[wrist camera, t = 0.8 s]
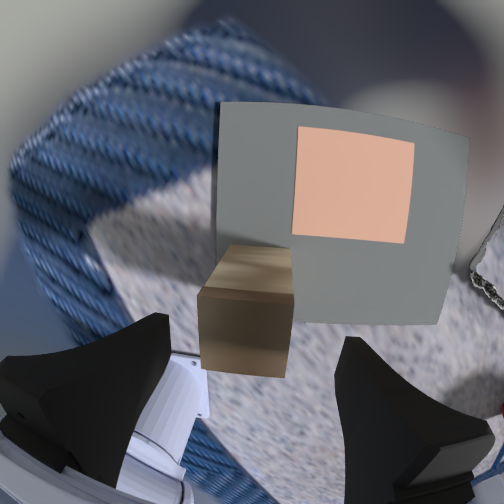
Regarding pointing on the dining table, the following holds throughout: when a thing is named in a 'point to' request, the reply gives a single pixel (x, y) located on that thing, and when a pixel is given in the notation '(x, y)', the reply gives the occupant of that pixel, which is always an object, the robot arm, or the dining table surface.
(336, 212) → the rubber mat
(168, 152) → the dining table surface
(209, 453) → the dining table surface
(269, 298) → the maple block
